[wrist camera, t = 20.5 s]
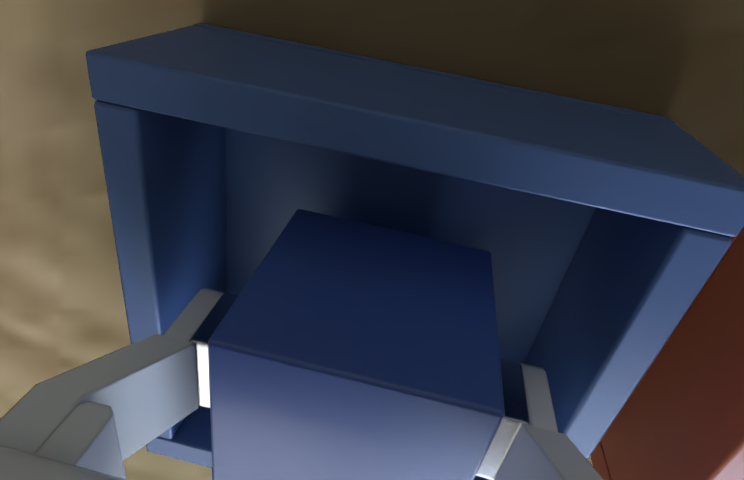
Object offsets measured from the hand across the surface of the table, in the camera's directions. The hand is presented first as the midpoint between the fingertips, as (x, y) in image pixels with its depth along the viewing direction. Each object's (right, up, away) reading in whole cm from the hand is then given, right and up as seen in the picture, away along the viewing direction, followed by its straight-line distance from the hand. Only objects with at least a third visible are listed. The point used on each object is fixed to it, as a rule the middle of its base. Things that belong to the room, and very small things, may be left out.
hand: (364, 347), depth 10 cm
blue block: (0, +1, +1) cm, 2 cm away
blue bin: (+1, +2, +3) cm, 3 cm away
